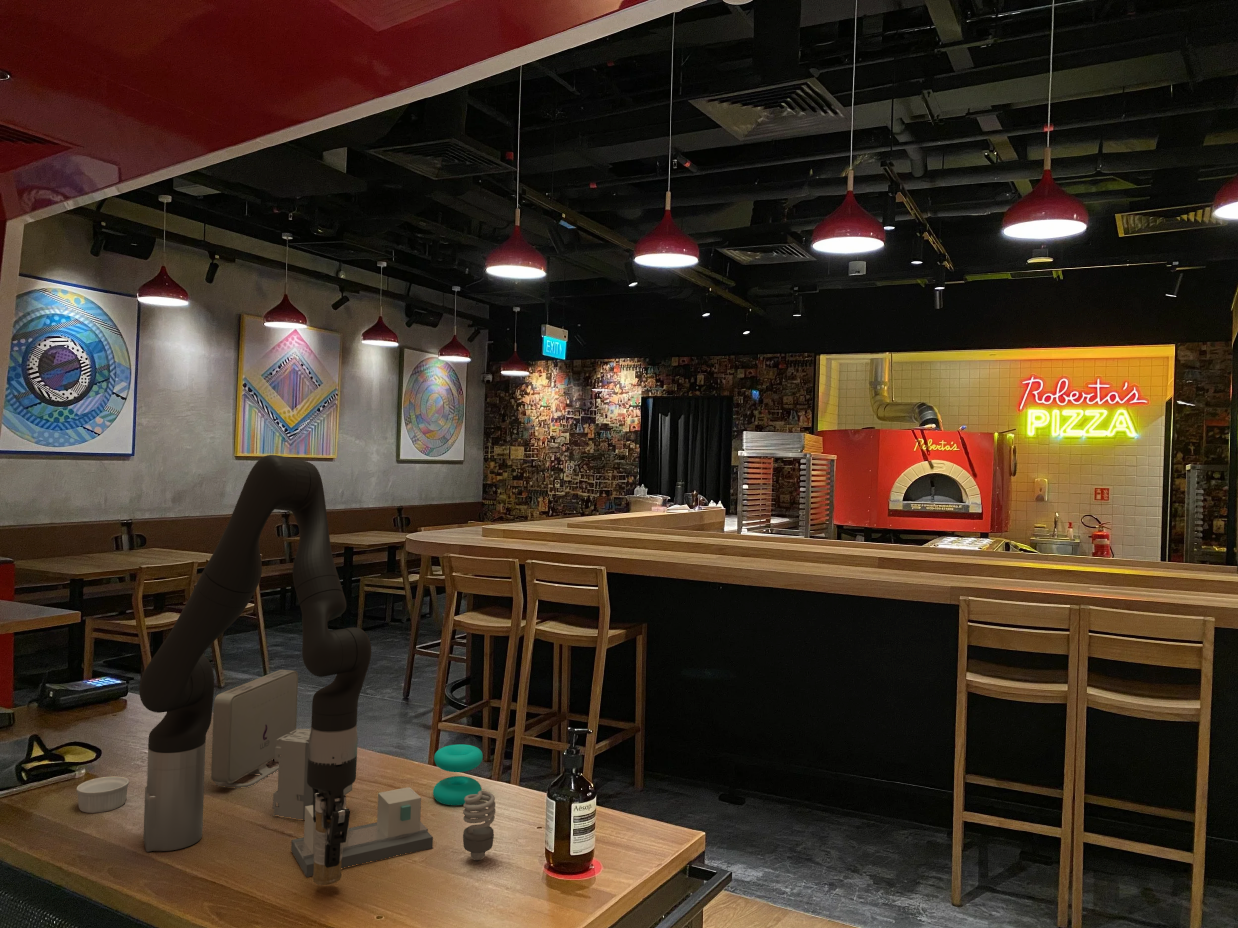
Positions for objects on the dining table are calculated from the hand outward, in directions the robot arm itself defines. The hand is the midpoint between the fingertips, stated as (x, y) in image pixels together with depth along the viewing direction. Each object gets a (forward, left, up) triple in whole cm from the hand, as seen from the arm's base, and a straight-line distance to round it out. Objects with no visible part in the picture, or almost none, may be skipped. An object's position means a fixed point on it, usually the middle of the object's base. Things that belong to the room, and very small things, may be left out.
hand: (327, 858), depth 137 cm
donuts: (+33, +26, -5) cm, 43 cm away
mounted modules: (+9, +11, -3) cm, 15 cm away
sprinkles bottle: (0, 0, -4) cm, 4 cm away
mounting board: (+9, +12, -5) cm, 16 cm away
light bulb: (+25, -2, -5) cm, 26 cm away
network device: (0, +61, -5) cm, 61 cm away
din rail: (+9, +12, -3) cm, 15 cm away
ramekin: (-29, +56, -6) cm, 63 cm away
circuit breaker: (+6, +32, -5) cm, 33 cm away
